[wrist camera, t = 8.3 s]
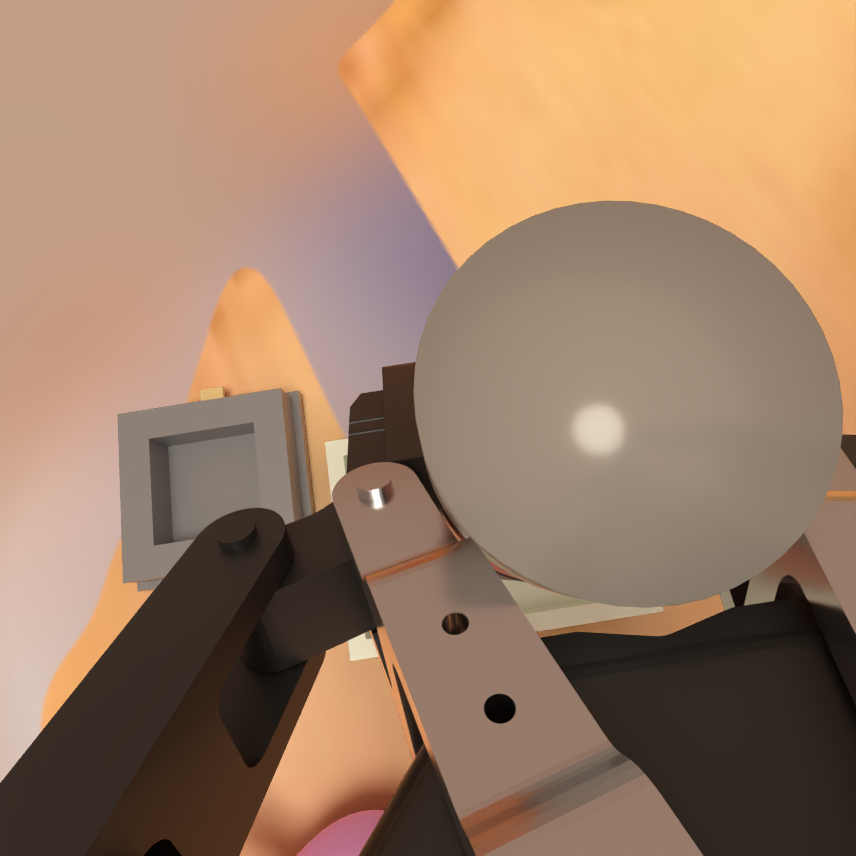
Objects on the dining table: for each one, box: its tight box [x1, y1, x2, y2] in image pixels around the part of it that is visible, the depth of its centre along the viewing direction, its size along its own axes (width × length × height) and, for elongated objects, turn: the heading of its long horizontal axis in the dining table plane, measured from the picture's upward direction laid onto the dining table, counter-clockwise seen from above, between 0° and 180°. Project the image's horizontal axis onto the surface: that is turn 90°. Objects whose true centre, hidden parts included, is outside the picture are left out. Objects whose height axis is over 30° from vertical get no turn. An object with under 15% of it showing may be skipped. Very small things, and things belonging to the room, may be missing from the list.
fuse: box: [414, 201, 843, 608], centre depth 12 cm, size 4×4×12 cm
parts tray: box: [325, 438, 664, 661], centre depth 28 cm, size 14×10×3 cm
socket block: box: [118, 387, 315, 591], centre depth 29 cm, size 9×11×3 cm
